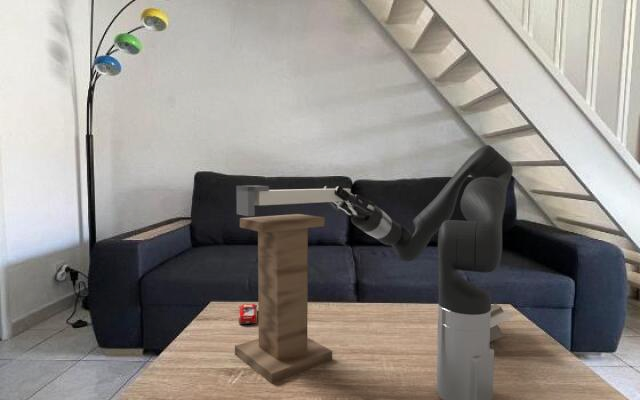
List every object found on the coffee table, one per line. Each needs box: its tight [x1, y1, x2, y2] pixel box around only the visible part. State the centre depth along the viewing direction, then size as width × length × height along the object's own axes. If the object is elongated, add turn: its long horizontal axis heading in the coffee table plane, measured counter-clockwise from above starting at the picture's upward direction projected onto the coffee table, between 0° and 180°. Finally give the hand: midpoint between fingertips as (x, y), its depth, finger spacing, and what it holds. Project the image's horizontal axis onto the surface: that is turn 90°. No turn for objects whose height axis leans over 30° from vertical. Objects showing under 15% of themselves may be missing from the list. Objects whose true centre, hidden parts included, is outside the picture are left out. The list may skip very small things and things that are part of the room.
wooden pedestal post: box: [234, 213, 333, 384], centre depth 88 cm, size 16×16×32 cm
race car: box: [238, 303, 258, 325], centre depth 113 cm, size 13×5×4 cm, turn 9°
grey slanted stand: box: [490, 303, 517, 343], centre depth 98 cm, size 16×9×15 cm
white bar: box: [235, 185, 351, 217], centre depth 89 cm, size 5×29×6 cm, turn 129°
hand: (330, 189), depth 95 cm, fingers closed on white bar, 4 cm apart
